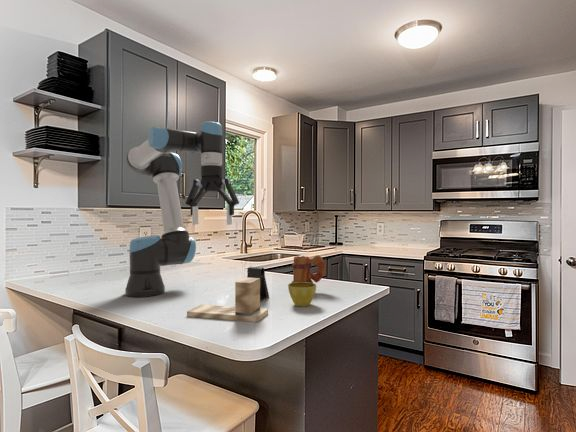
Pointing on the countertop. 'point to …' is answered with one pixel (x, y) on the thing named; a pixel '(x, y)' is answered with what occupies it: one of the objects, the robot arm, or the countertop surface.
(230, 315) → the board
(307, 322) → the countertop surface
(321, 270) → the mug
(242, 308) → the block
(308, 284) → the flower pot
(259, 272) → the door stopper
